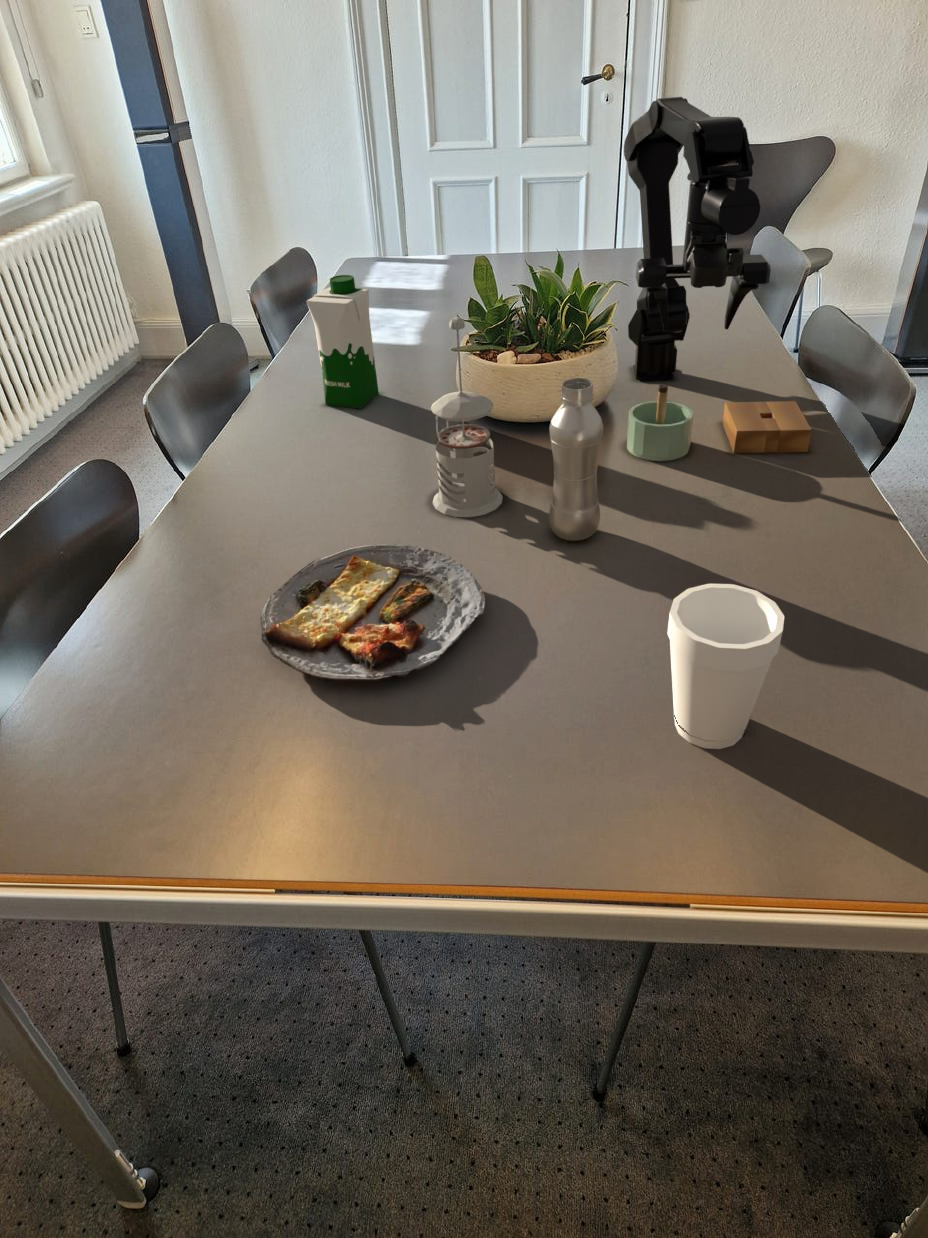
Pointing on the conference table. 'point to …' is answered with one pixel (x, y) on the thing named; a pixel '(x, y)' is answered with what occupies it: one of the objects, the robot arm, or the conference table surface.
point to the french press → (464, 452)
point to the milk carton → (345, 343)
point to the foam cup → (720, 659)
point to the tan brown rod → (661, 404)
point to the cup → (659, 431)
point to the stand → (766, 427)
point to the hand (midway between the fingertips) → (695, 329)
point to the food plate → (370, 613)
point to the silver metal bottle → (575, 462)
